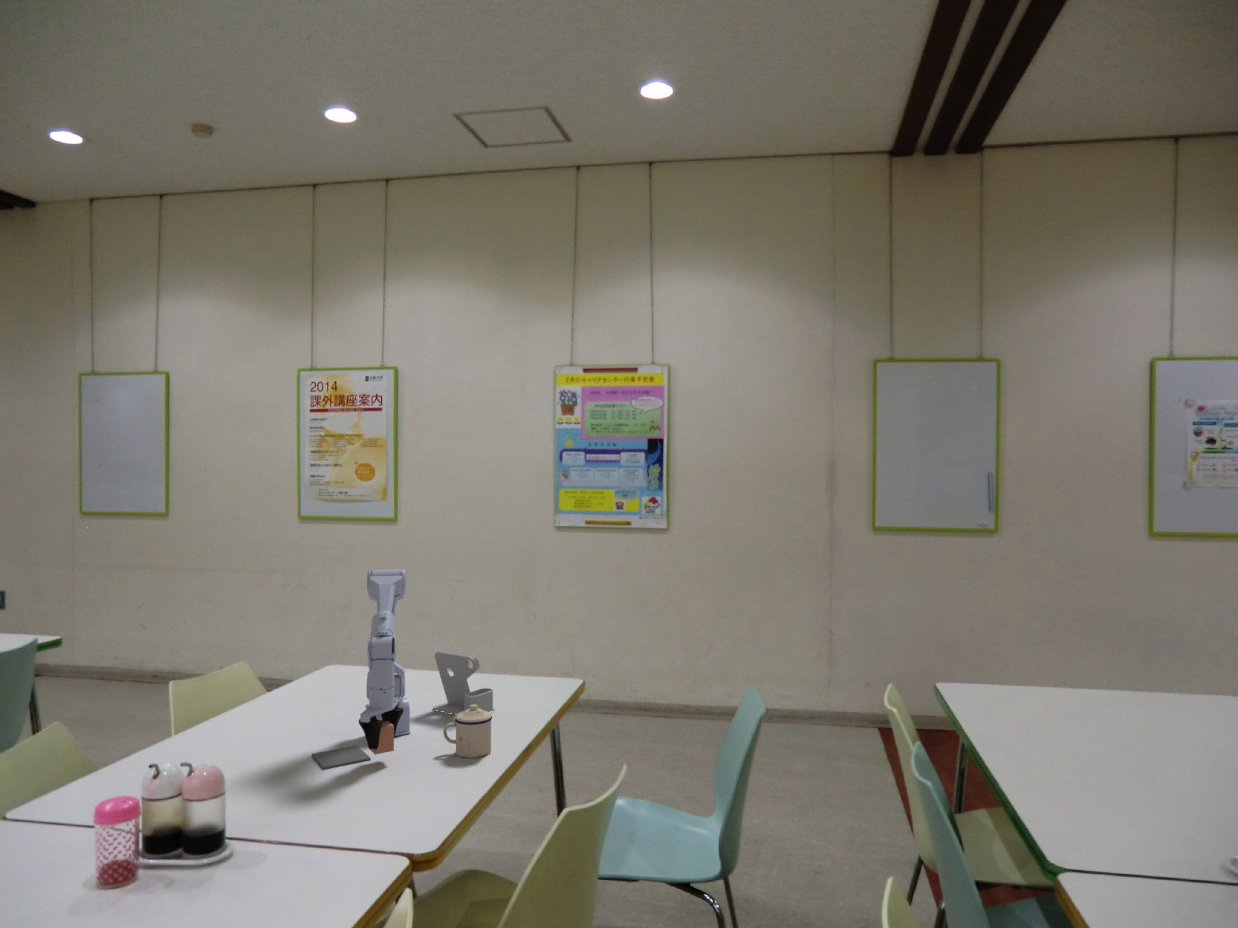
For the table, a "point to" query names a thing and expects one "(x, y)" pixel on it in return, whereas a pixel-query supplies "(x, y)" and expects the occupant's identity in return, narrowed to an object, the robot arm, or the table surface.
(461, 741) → the teacup with lid
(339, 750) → the charcoal mat
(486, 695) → the phone holder
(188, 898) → the table surface
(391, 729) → the brick-red block
